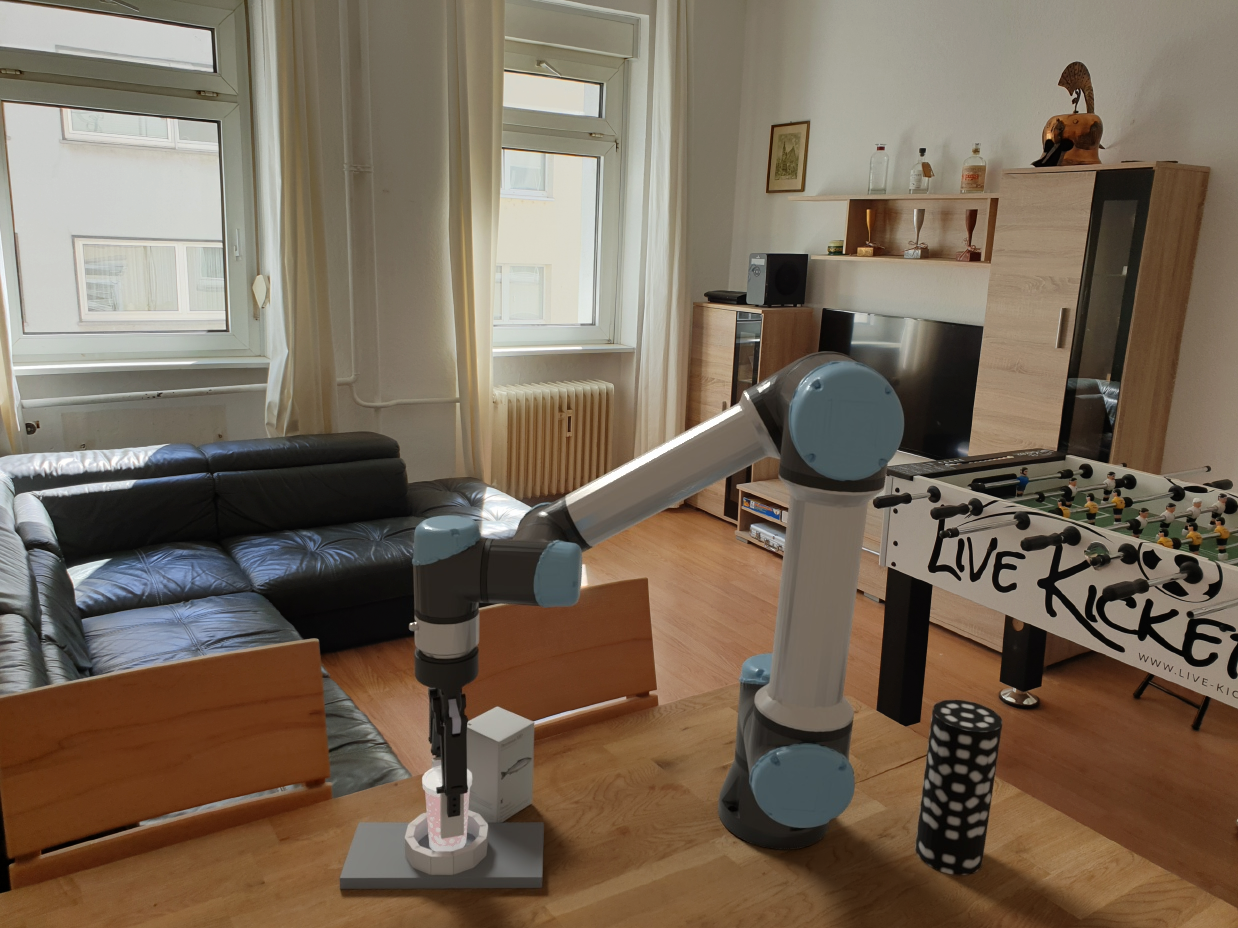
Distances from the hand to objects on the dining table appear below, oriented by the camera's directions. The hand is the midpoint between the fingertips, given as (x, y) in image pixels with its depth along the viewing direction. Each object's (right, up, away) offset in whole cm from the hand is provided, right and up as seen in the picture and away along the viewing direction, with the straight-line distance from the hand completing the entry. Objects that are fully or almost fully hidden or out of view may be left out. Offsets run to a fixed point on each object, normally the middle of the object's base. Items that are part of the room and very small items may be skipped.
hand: (447, 818), depth 117 cm
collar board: (0, -6, +1) cm, 6 cm away
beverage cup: (0, -3, +1) cm, 3 cm away
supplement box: (+4, -3, +13) cm, 14 cm away
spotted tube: (+64, -7, +6) cm, 65 cm away
